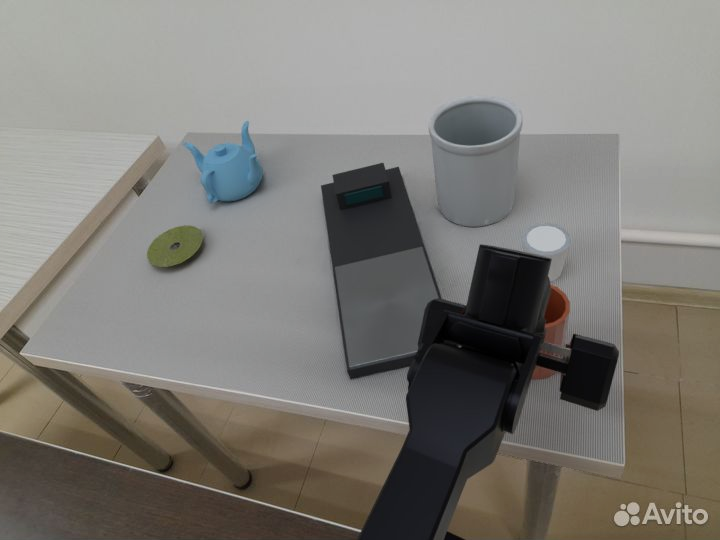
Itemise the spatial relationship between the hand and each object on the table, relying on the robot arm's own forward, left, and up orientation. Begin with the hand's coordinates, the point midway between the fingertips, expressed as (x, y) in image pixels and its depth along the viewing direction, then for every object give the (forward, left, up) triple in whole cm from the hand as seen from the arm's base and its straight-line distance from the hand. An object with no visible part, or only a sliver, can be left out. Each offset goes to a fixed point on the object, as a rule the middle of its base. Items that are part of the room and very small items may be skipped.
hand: (525, 337), depth 60 cm
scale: (+30, +14, -13) cm, 36 cm away
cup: (+5, -4, -13) cm, 15 cm away
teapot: (+63, +40, -14) cm, 76 cm away
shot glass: (+20, -11, -14) cm, 27 cm away
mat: (+45, +52, -14) cm, 70 cm away
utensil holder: (+39, -6, -14) cm, 42 cm away
